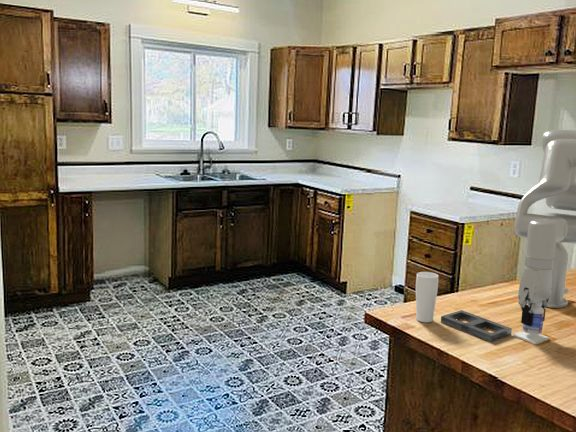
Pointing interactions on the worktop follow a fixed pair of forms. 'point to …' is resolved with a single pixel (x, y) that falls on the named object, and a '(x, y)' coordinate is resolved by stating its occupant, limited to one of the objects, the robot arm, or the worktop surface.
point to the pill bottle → (535, 320)
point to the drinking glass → (426, 296)
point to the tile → (531, 337)
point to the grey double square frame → (476, 325)
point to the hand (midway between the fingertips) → (532, 321)
